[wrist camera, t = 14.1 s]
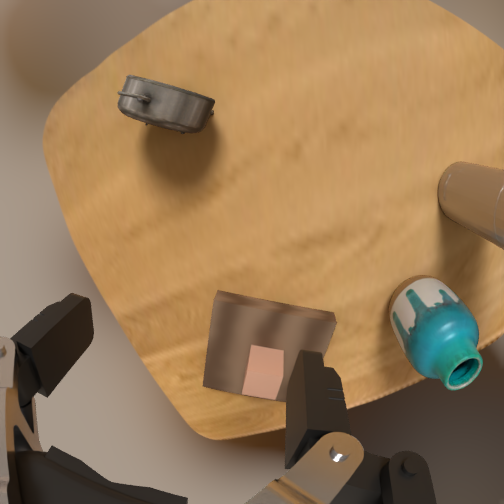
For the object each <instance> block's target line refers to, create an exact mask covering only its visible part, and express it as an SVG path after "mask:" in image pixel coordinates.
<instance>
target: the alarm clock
mask: <svg viewBox="0 0 504 504" xmlns="http://www.w3.org/2000/svg"><path fill="white" fill-rule="evenodd" d="M118 94H119V95H120V98H119V101H118V108H119V110H120V111H121V112H122V113H123V114H125V115H126V116H128V117H131V118H133V119H136V120H139V121H142V122H145V123H146V125H147V123H148V124H151V125H155V126H158V127H162V128H166V129H170V130H175V131H180V132H181V134H184V133H185V132H186V133H197V132H200V131H202V130H203V129H204V128H205V126H206V123H207V121H208V118H209V116H210V115H212V114H213V113H214V111H213V110H212V108H213V106H214V103H215V100H214V99H212V98H209V97H206V96H203V95H200V94H197V93H194V92H191V91H187V90H184V89H181V88H178V87H175V86H172V85H168V84H164V83H161V82H157V81H154V80H150V79H146V78H141V77H137V76H133V75H128V76H127V77H126V81H125V84H124V86H123V89H122V92H121V91H119V92H118Z"/></svg>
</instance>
